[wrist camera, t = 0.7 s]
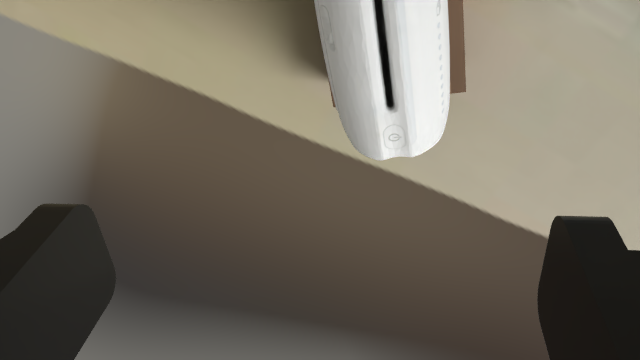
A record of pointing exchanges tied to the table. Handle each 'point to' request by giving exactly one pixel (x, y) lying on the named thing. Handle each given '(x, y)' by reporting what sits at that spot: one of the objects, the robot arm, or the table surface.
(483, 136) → the table surface
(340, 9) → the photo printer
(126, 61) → the table surface
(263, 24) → the table surface
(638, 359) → the robot arm
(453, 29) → the brown wooden tray
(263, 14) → the table surface
